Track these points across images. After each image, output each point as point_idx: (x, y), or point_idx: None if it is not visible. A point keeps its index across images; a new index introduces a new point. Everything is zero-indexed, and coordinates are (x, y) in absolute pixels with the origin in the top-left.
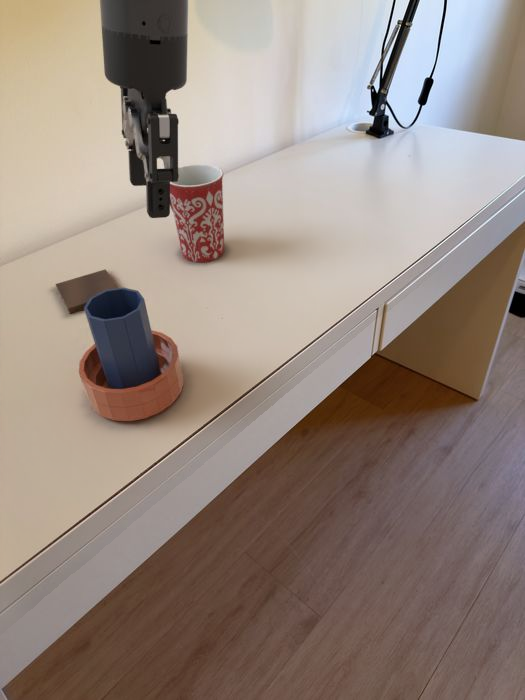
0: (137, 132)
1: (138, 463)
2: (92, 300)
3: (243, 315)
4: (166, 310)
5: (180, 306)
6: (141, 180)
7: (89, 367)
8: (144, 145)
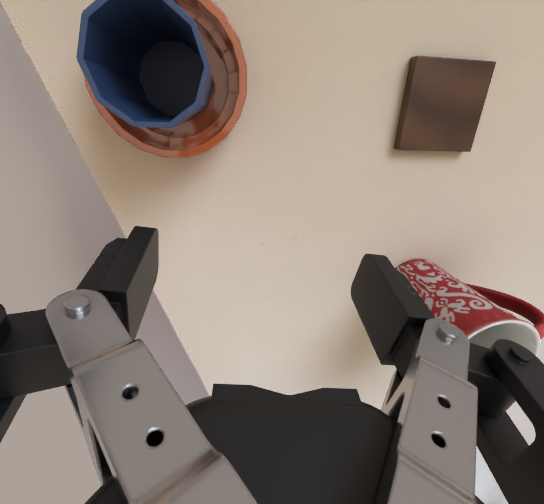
0: (114, 464)
1: (26, 18)
2: (187, 23)
3: (252, 267)
4: (323, 190)
5: (319, 210)
6: (361, 281)
7: (205, 12)
8: (86, 415)
